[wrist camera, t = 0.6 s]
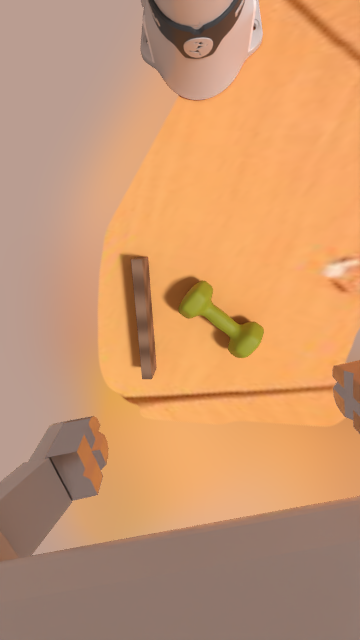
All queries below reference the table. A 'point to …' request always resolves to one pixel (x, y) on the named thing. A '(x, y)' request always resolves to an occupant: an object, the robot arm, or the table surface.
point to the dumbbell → (221, 320)
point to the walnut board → (144, 316)
